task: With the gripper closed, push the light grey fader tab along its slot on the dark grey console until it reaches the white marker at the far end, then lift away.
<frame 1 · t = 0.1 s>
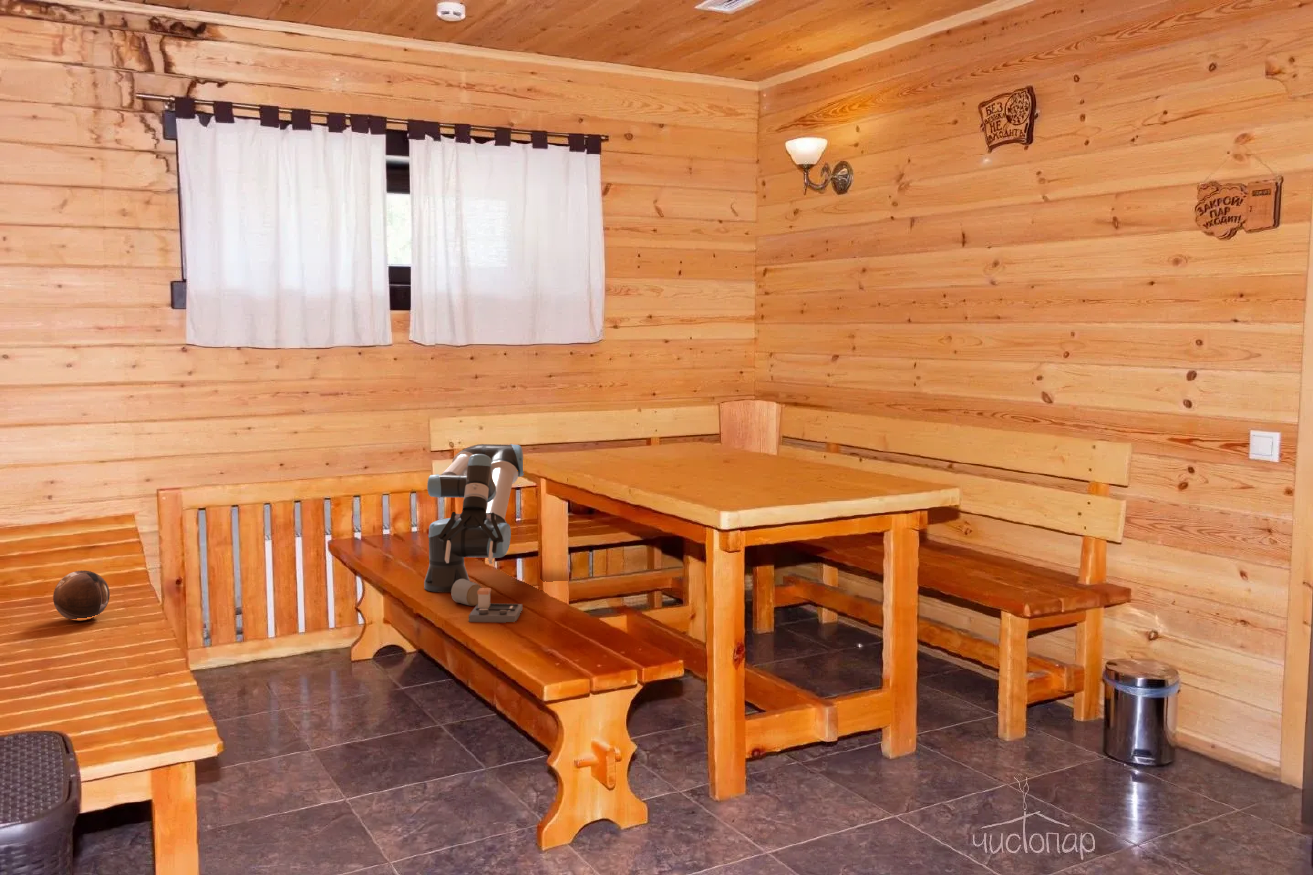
hand: (468, 561, 351), 15 cm above the table, tool tilted 35°, fingers open, 13 cm apart
ceramic mug: (470, 603, 362), on the table
console: (496, 615, 346), on the table
wooden sphere: (82, 621, 338), on the table
fader tab: (484, 598, 348), point 5 cm above the table, slide at 0.0 cm
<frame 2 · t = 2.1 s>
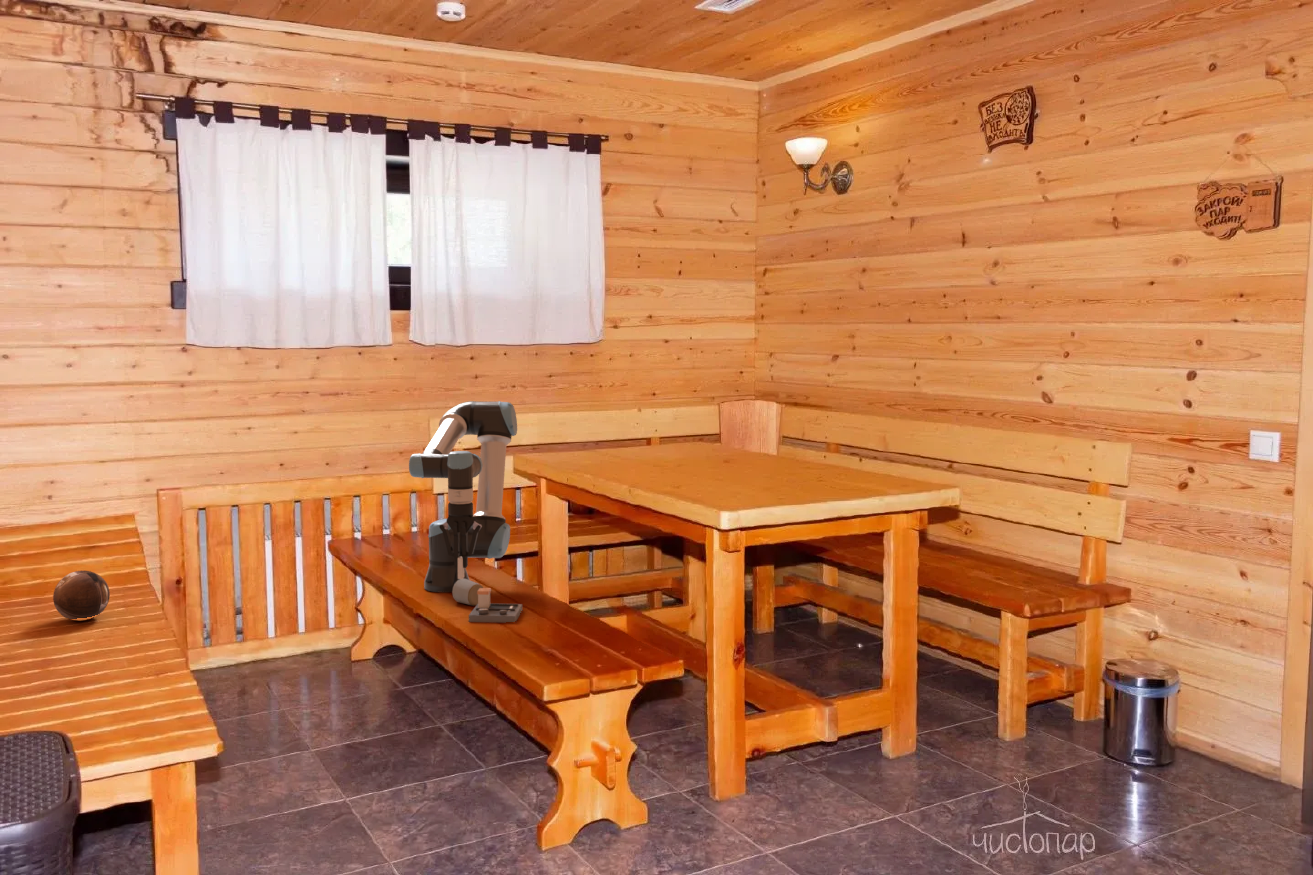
hand: (461, 577, 347), 11 cm above the table, tool pointing down, fingers closed
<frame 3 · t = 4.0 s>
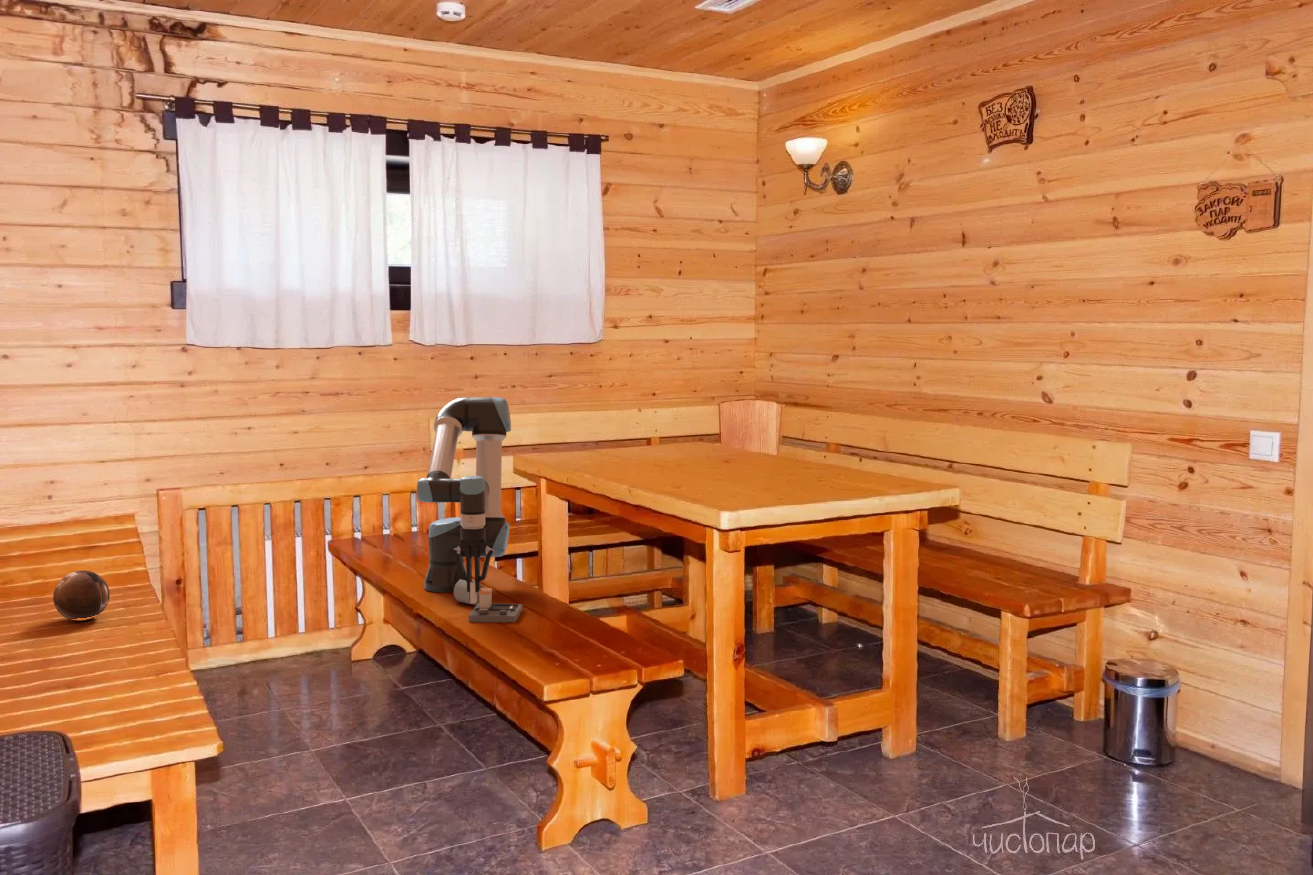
hand: (473, 602, 348), 4 cm above the table, tool pointing down, fingers closed
fader tab: (485, 598, 348), point 5 cm above the table, slide at 0.4 cm, touching gripper
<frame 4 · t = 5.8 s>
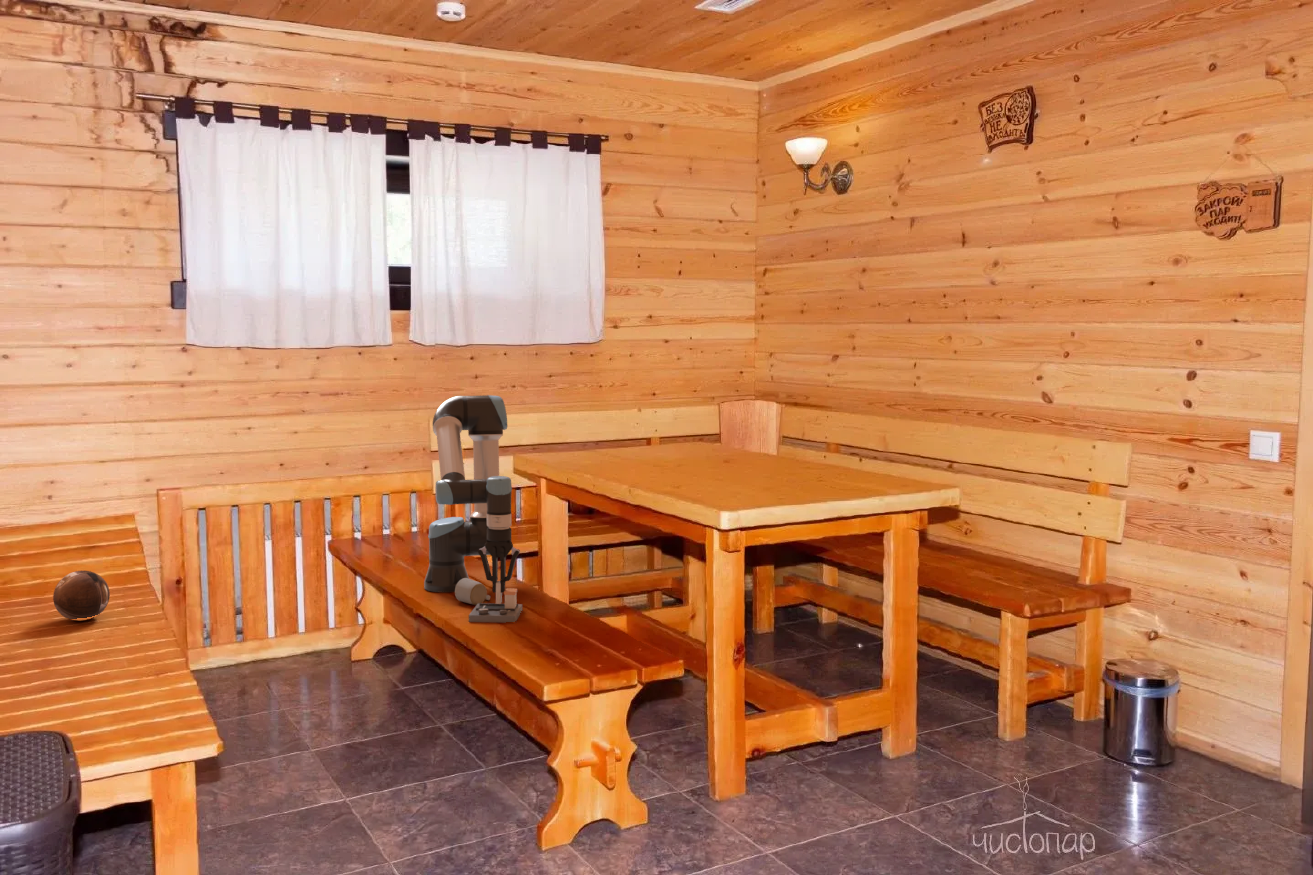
hand: (498, 602, 348), 4 cm above the table, tool pointing down, fingers closed
fader tab: (510, 598, 348), point 5 cm above the table, slide at 8.2 cm, touching gripper
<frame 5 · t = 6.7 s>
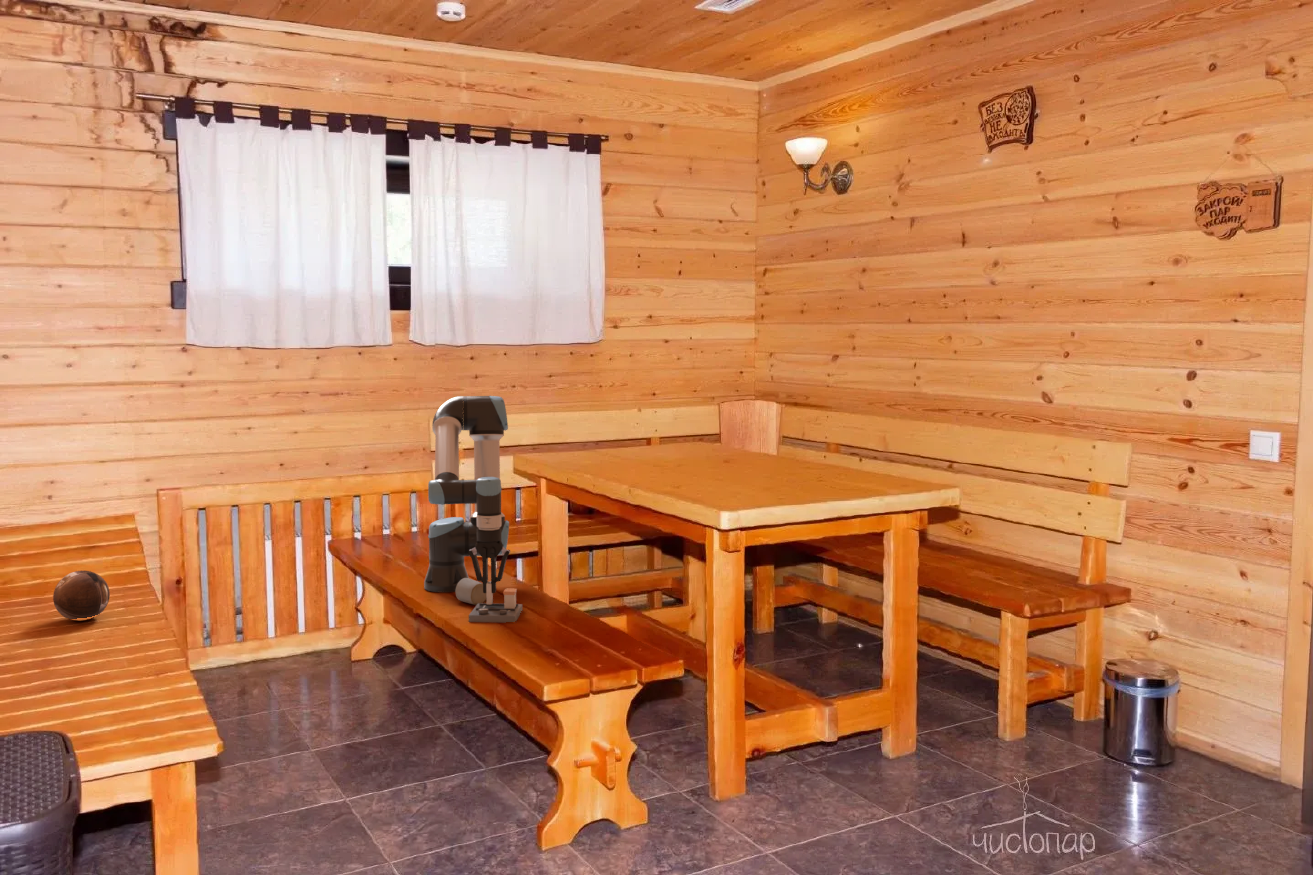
hand: (489, 603, 348), 3 cm above the table, tool pointing down, fingers closed
fader tab: (510, 598, 348), point 5 cm above the table, slide at 8.0 cm
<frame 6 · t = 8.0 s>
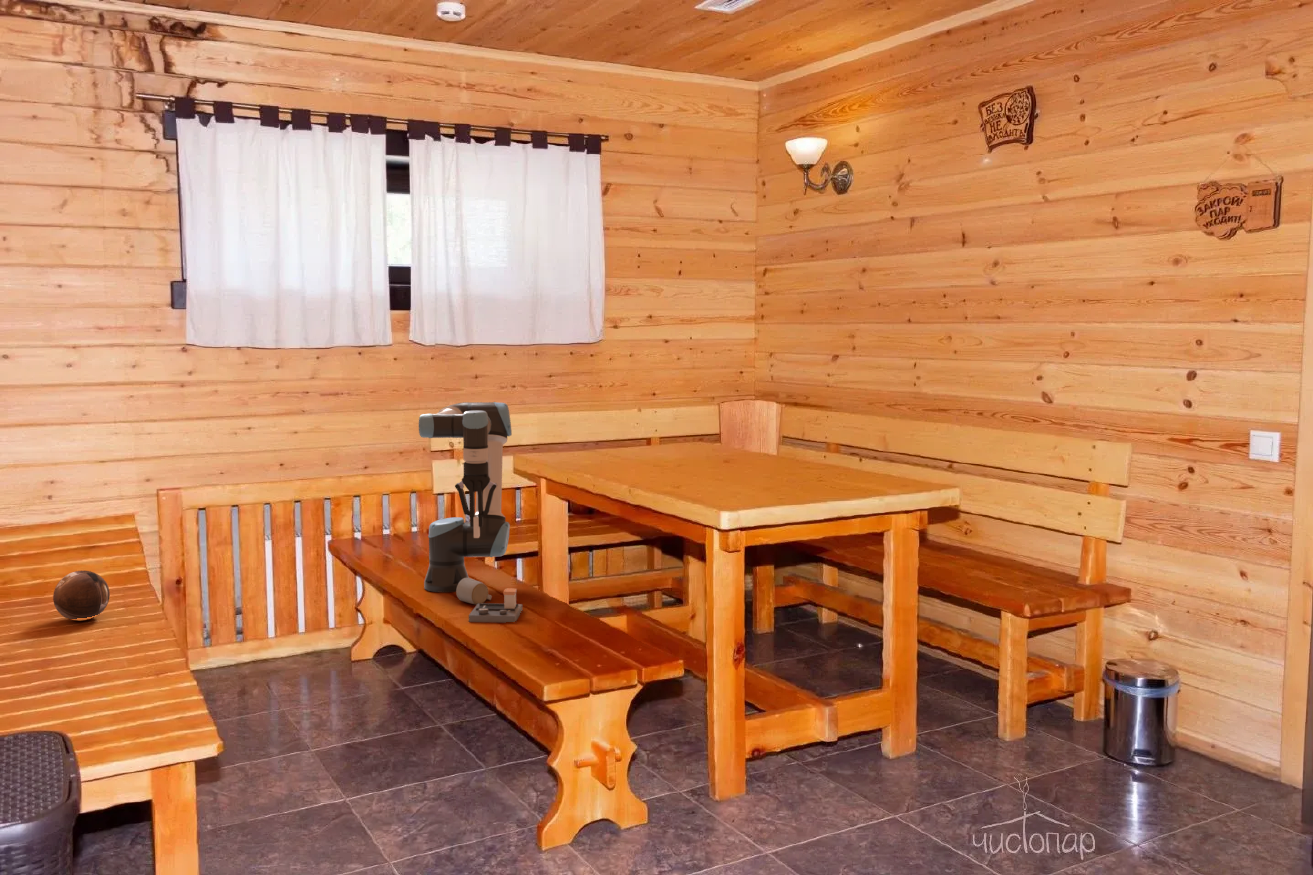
hand: (476, 536, 349), 24 cm above the table, tool pointing down, fingers closed
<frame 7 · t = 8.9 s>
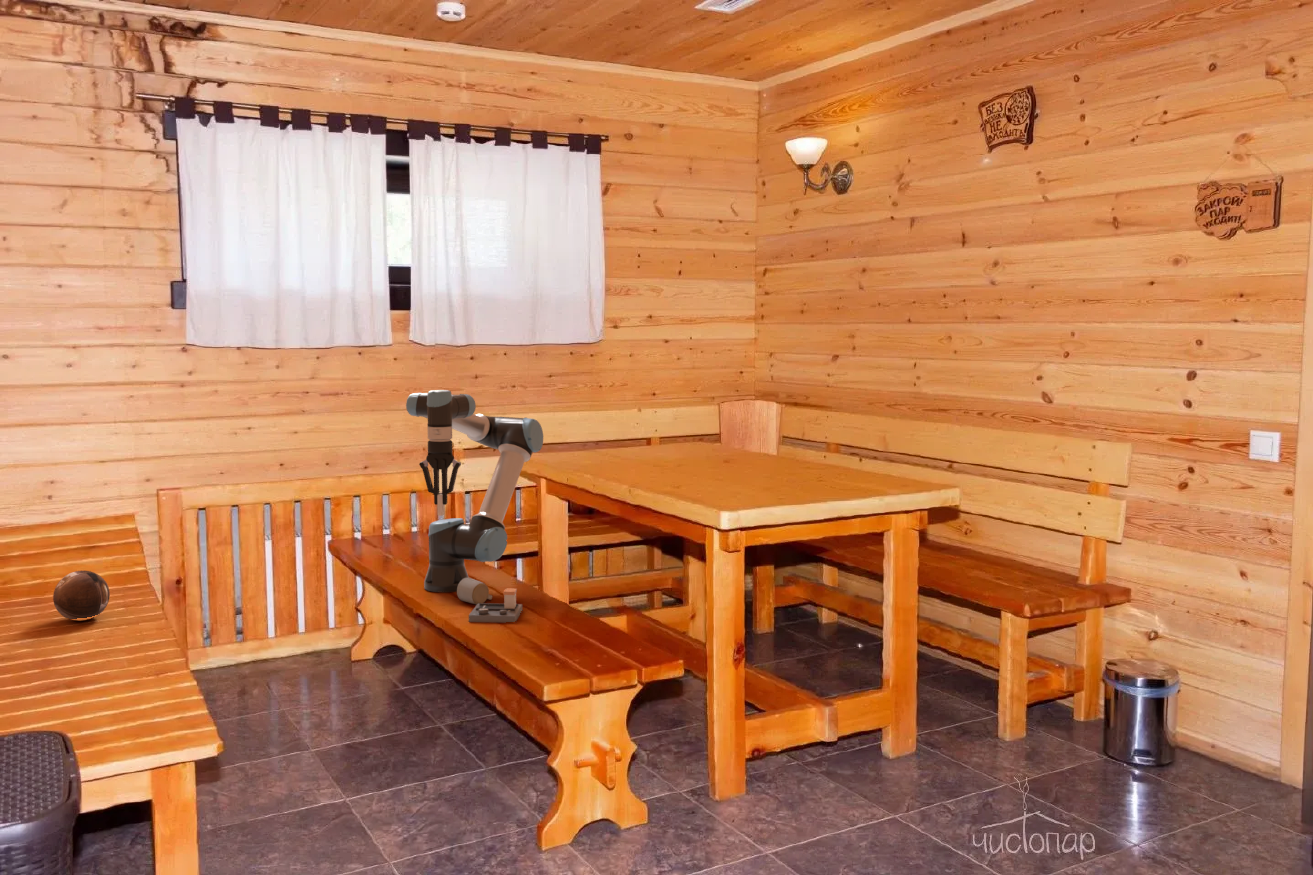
hand: (440, 514, 354), 29 cm above the table, tool pointing down, fingers closed
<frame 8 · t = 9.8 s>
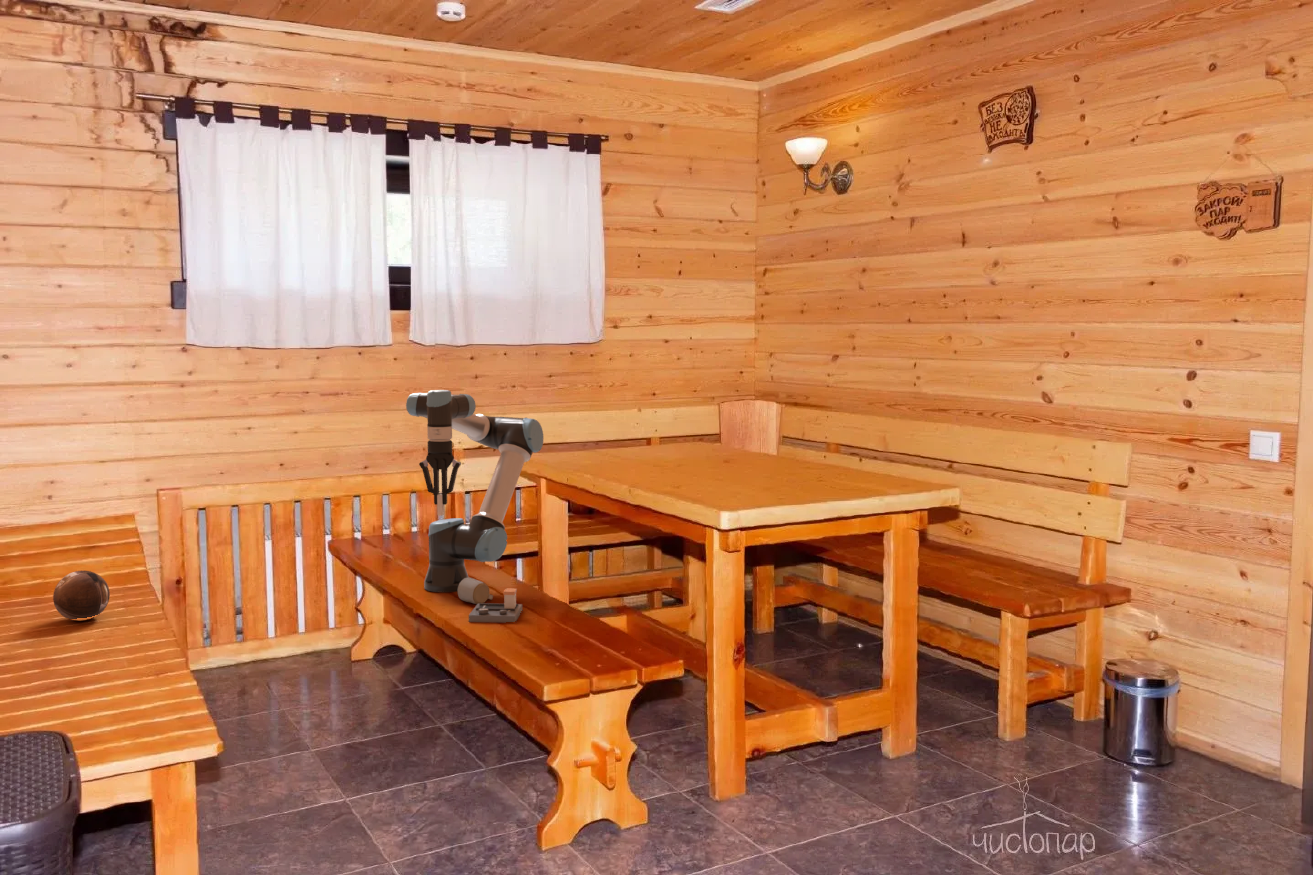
hand: (440, 514, 354), 29 cm above the table, tool pointing down, fingers closed
at the end: fader tab slide at 8.0 cm; fader tab 0.2 cm from the target spot on the console, point 5.0 cm above the console's base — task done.
